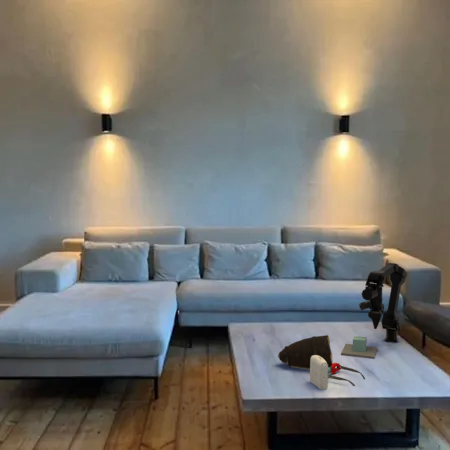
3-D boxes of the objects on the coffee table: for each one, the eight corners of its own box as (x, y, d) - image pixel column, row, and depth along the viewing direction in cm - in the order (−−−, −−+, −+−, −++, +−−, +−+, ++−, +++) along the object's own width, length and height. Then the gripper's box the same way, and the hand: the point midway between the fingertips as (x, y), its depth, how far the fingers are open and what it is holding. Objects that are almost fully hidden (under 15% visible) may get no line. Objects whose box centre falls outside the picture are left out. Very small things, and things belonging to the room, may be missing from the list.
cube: (354, 347, 267) (354, 336, 267) (366, 348, 265) (366, 337, 264) (352, 351, 261) (352, 339, 261) (364, 352, 259) (365, 340, 259)
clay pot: (275, 336, 250) (327, 328, 246) (281, 365, 253) (333, 358, 249) (274, 350, 236) (329, 342, 232) (280, 380, 239) (335, 373, 234)
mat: (345, 345, 274) (345, 343, 273) (377, 348, 268) (377, 346, 268) (340, 355, 259) (341, 353, 259) (374, 358, 253) (374, 356, 253)
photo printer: (329, 389, 216) (329, 360, 215) (319, 390, 215) (320, 361, 214) (317, 380, 226) (317, 352, 225) (308, 381, 225) (308, 353, 224)
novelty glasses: (336, 371, 238) (336, 360, 237) (366, 378, 228) (367, 367, 228) (321, 380, 227) (321, 369, 227) (352, 388, 218) (352, 377, 217)
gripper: (362, 291, 278) (362, 320, 279) (357, 299, 260) (357, 330, 262) (384, 292, 273) (384, 321, 275) (381, 301, 256) (380, 332, 258)
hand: (376, 326), depth 267 cm, fingers open, 9 cm apart
